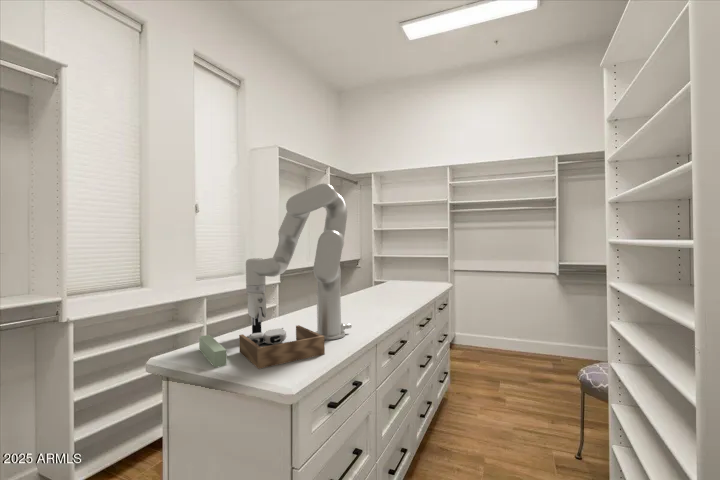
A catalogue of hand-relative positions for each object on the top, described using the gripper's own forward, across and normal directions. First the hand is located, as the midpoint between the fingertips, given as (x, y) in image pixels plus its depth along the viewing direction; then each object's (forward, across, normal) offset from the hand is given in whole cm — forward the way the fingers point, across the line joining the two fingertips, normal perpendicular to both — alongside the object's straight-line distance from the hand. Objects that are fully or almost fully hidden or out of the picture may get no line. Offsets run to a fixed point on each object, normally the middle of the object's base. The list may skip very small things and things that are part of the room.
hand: (256, 334), depth 141 cm
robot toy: (+2, -11, 0) cm, 11 cm away
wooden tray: (+1, -25, 0) cm, 25 cm away
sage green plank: (+1, -15, +20) cm, 25 cm away
